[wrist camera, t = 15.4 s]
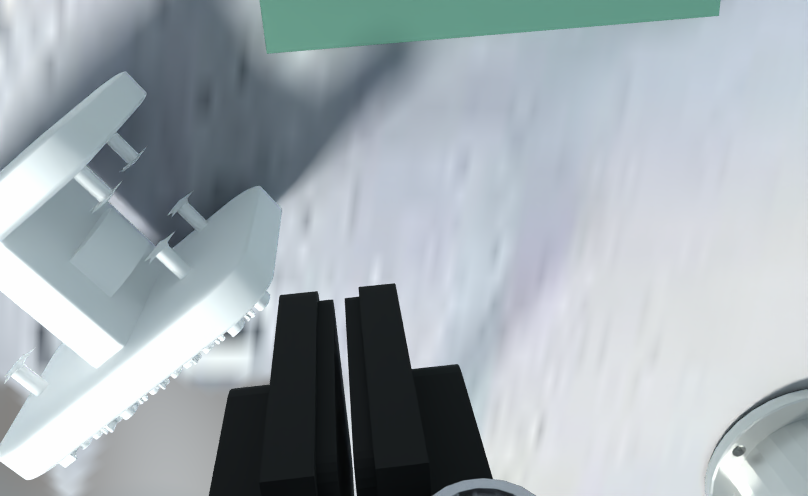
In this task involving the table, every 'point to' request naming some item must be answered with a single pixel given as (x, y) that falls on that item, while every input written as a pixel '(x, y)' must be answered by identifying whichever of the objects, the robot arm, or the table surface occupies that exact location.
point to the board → (449, 19)
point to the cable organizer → (114, 282)
